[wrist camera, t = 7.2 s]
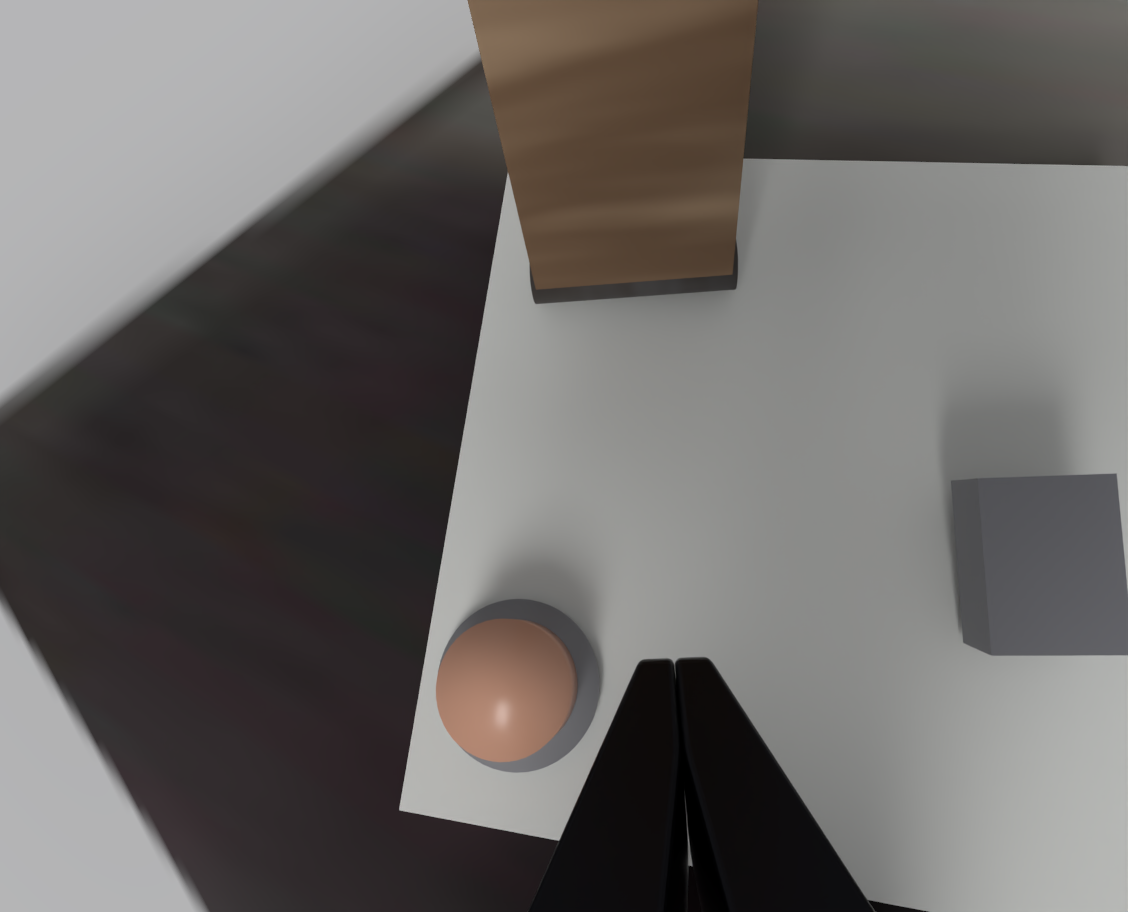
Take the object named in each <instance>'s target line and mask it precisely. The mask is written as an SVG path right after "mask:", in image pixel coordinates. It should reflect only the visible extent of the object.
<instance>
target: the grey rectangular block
mask: <svg viewBox="0 0 1128 912" xmlns="http://www.w3.org/2000/svg"><path fill="white" fill-rule="evenodd" d="M951 489H952V502H953V516H954V529H955V542H956V555H957V569H958V582H959V595H960V608H961V622H962V635H963V643H964V644H967V645H969V646H971V647H973V648H976V649H978V650H980V651H982V652H984V653H987V654H989V655H991V656H1073V655H1128V589H1127V578H1126V567H1125V557H1124V546H1123V536H1122V525H1121V514H1120V504H1119V493H1118V482H1117V473H1116V474H1088V475H1059V476H1031V477H1002V478H976V479H964V480H953V481H951Z"/></svg>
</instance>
